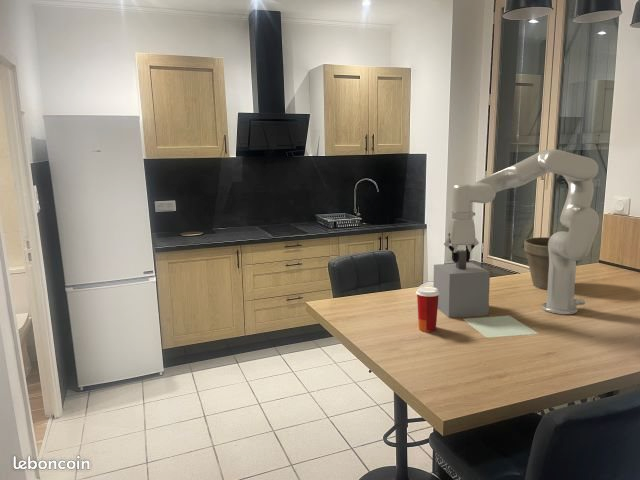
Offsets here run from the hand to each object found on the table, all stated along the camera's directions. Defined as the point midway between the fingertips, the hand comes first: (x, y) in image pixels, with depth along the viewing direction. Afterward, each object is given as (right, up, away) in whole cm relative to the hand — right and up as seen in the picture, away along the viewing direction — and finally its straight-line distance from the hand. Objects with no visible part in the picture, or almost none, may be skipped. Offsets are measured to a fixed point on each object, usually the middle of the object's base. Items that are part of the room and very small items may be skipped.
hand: (460, 261), depth 181 cm
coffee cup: (-17, -24, -15) cm, 33 cm away
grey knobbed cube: (+1, -20, +4) cm, 21 cm away
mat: (+9, -23, -15) cm, 29 cm away
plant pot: (+53, -14, +34) cm, 64 cm away
